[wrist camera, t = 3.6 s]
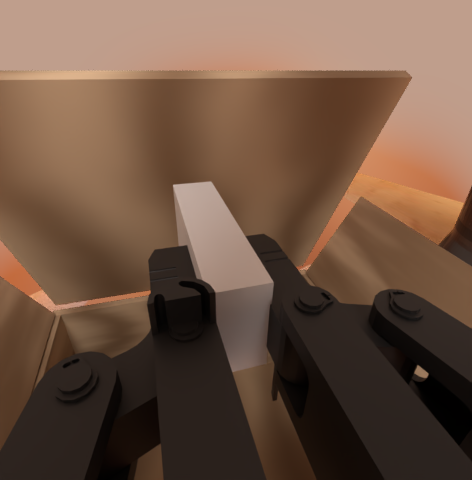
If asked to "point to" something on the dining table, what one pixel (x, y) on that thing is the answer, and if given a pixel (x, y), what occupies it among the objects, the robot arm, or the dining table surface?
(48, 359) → the shipping carton
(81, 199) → the carton flap
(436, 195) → the dining table surface
